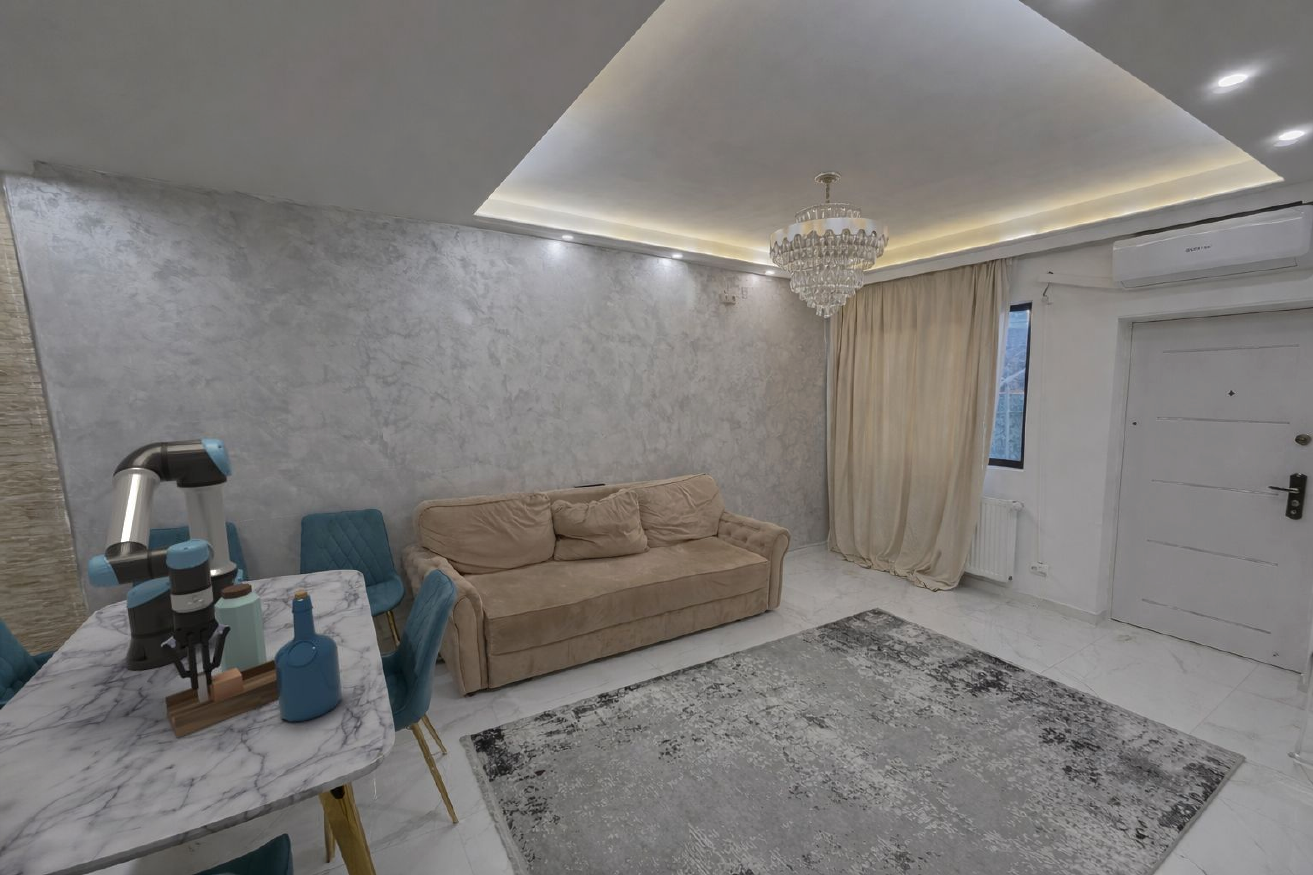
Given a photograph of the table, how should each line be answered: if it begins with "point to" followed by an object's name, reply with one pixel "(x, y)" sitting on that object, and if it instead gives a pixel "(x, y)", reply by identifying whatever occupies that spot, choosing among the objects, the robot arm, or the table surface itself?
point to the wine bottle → (307, 667)
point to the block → (226, 684)
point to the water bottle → (241, 627)
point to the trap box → (222, 701)
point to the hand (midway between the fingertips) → (203, 699)
